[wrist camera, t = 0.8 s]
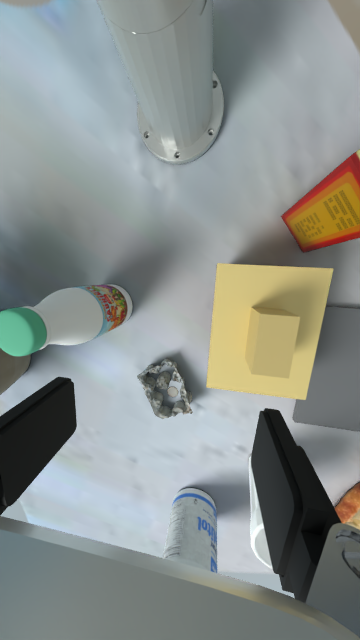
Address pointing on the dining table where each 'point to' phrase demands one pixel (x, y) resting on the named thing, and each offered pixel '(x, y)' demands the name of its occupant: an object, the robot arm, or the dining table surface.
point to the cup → (257, 525)
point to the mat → (334, 373)
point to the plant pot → (11, 369)
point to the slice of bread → (350, 507)
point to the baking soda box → (328, 209)
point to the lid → (266, 328)
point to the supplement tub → (192, 530)
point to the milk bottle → (64, 318)
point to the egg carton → (163, 383)
